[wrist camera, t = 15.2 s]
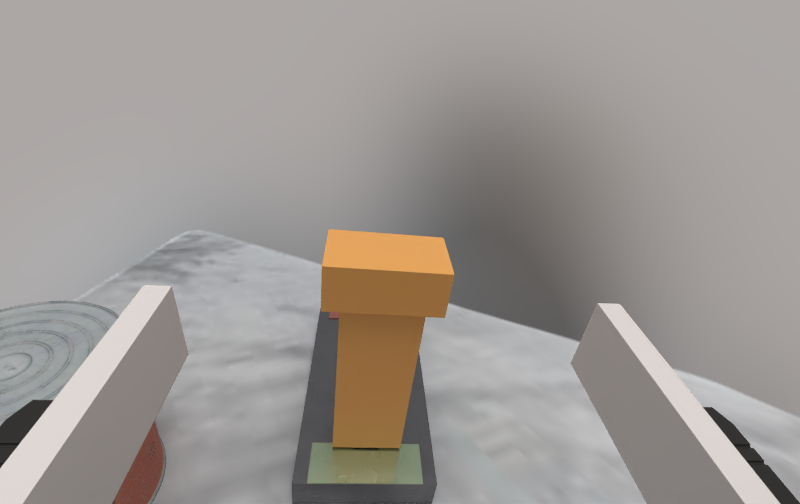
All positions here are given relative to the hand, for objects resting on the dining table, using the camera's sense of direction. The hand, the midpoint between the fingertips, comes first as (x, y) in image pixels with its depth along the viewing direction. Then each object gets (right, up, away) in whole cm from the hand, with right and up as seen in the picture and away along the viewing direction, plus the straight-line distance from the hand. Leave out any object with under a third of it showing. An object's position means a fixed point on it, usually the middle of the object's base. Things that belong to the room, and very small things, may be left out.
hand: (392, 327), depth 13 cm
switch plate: (-3, -11, +25) cm, 27 cm away
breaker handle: (-2, -11, +18) cm, 22 cm away
